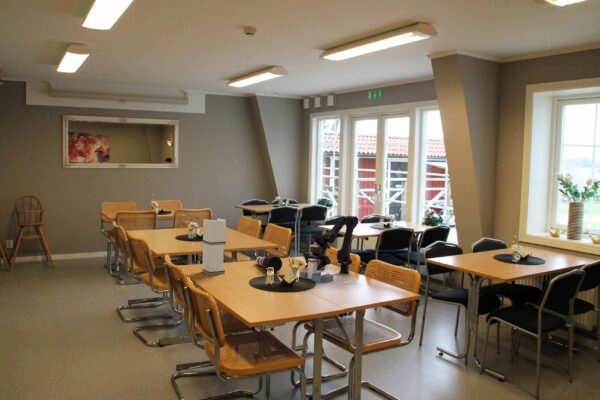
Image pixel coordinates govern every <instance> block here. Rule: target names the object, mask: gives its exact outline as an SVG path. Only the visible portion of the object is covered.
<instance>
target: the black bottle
mask: <svg viewBox="0 0 600 400" xmlns="http://www.w3.org/2000/svg"><path fill="white" fill-rule="evenodd" d="M255 263H256V264H257V265H258V266H260V267H263V268H264V270H266V268H268V267H273V268H274V271H275V273H276V272H279V271H280V270H281V269H282V267H283V261H282V258H280V257H279V256H274V255H266V256H257V258H255Z"/></svg>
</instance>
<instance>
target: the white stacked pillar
mask: <svg viewBox="0 0 600 400" xmlns="http://www.w3.org/2000/svg"><path fill="white" fill-rule="evenodd" d="M202 224H203V226H202V227H203V228H202V232H203V233H202V273H205V274H206V275H209V276H213V275H214V276H215V275H225V272H226V270H224V254H225V252H224V248H225V247H226V241H227V240H226V237H227V235H226V234H227V233H226V230H227V228H226V227H227V220H226V219H221V218H216V220H213V219H206V218H203V221H202Z"/></svg>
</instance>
